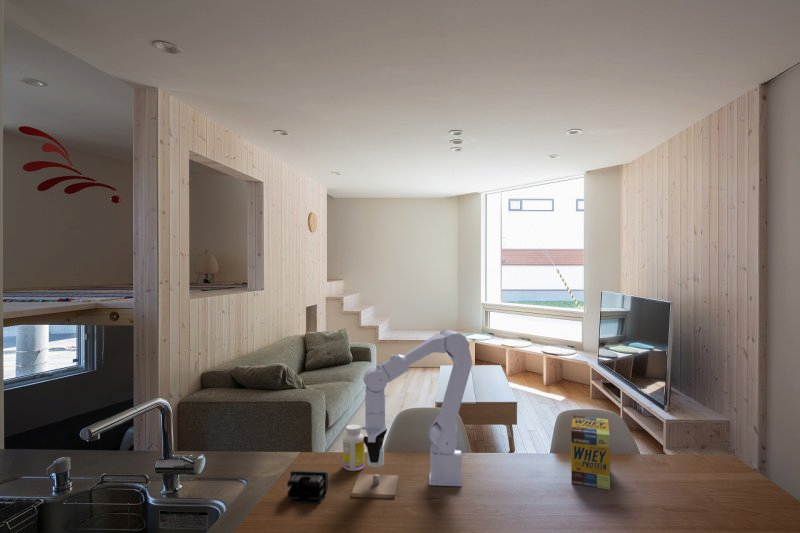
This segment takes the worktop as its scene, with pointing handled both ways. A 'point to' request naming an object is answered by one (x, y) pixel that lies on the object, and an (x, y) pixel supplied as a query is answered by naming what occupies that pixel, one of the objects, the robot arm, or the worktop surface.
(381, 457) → the cap
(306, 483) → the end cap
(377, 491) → the post board
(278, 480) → the worktop surface
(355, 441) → the supplement bottle
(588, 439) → the protein box
